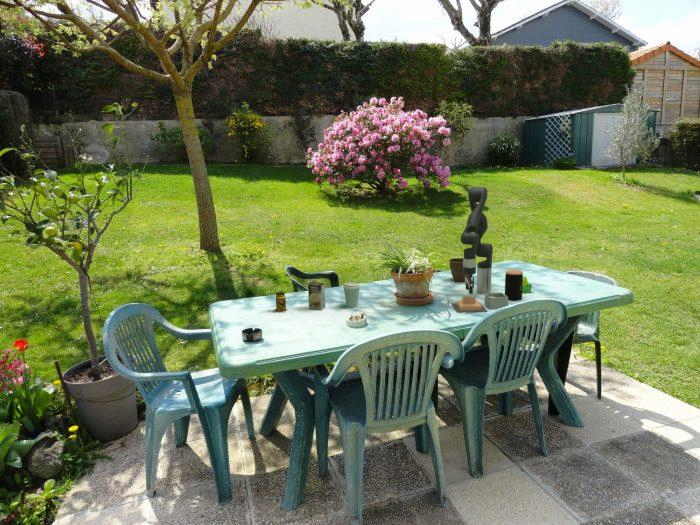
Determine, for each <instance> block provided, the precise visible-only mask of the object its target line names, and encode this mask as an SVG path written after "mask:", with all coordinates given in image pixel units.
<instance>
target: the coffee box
mask: <svg viewBox="0 0 700 525" xmlns="http://www.w3.org/2000/svg"><path fill="white" fill-rule="evenodd" d="M325 288H326V286H325V282H317V281H316V282H315V281H311V282H310V283H308V284H307V289H308V290H307V293H308V295H307V296H308V309H309V310H316V311H323V310H324V309H325V308H326V289H325Z"/></svg>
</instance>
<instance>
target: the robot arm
mask: <svg viewBox="0 0 700 525" xmlns="http://www.w3.org/2000/svg"><path fill="white" fill-rule="evenodd" d="M467 196H468V202H469V208H470V213H469V215H468V217H467V220H466V225H465V228H464V229H463V231H462V233H461V235H460V242H461V244H462V245H470V246H471V247H467V248H464V250H463V258H464V260H463V273H464V274H465V281H464V283H465V291H468V294H469V295H472V294H474V288H475V277H474V276H473V275H475V274H476V293H479V294H481V293H482V295H483V294H484V295H485V293H492V272H493V271H492V267H493V266H492V265H493V253H494V252H493V251H494V249H493V248H494V247H493V244H491V243H484V242H483V243H482V239H483V237H484V235H485V233H487V230H488V228H489V227H488V226H489V225H488V224H489V223H488V219H487V218H488V217H487V216H486V215H485V214H486V213H484V212H483V211H484V208H485V205H486V202H487V199H488V189H487V188H486V187H485V186H477V187H476V186H475V187H474V186H473V187H470V188H469V189H468V192H467ZM477 203H478V204H477ZM476 257H478V258H485V259H484V260H481V261H479V262H477V259H476Z"/></svg>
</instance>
